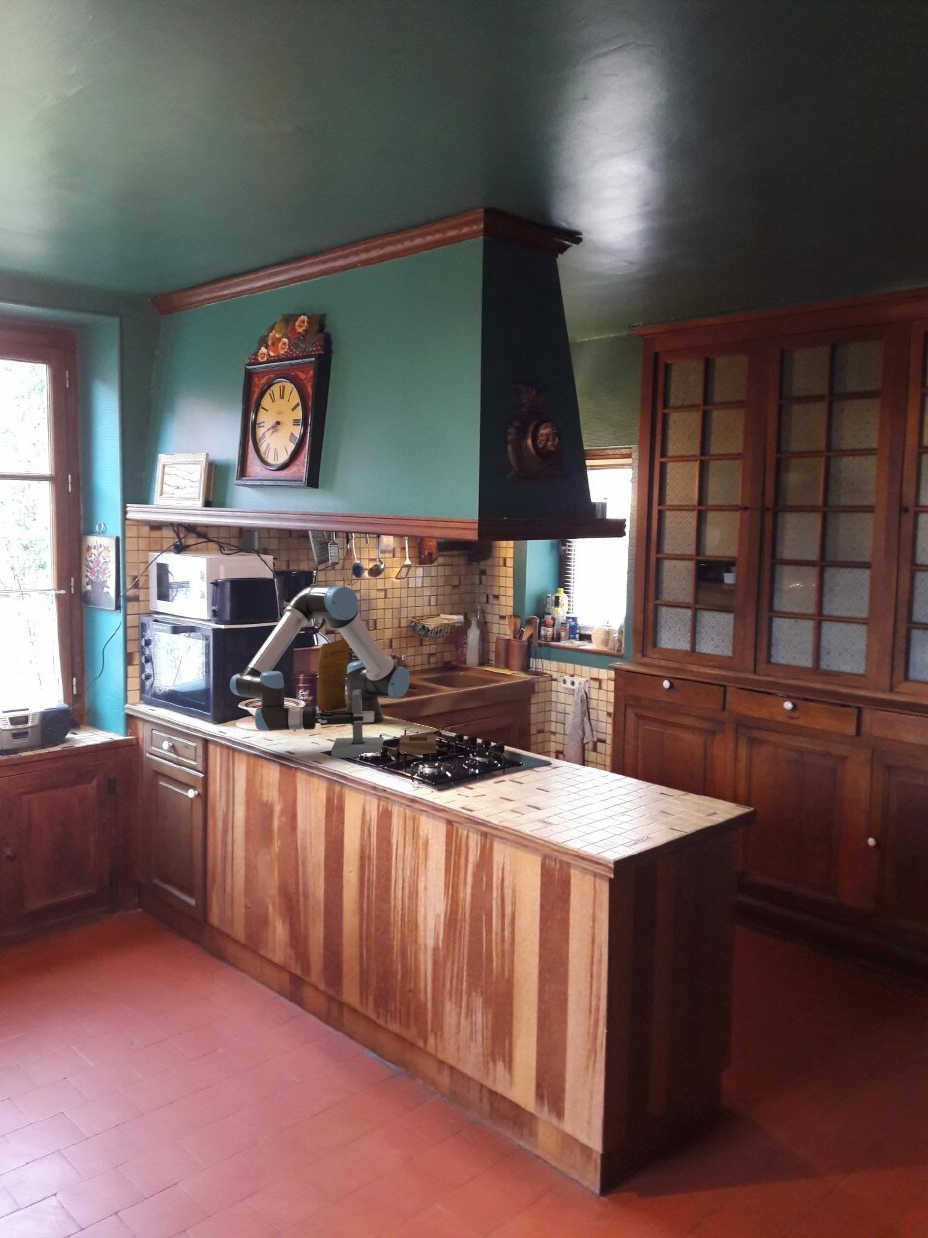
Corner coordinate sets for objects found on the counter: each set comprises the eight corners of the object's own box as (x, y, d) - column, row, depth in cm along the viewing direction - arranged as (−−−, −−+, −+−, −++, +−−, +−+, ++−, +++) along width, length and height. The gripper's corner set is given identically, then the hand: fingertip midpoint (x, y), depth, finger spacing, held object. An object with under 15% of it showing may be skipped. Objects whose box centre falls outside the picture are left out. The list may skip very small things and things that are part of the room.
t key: (354, 743, 337) (353, 689, 335) (363, 743, 337) (362, 689, 335) (352, 750, 327) (350, 695, 325) (361, 750, 327) (359, 694, 325)
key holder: (400, 746, 338) (400, 735, 338) (436, 746, 338) (436, 734, 338) (399, 755, 326) (399, 743, 326) (436, 754, 327) (436, 742, 326)
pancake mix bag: (356, 705, 415) (354, 638, 412) (322, 712, 400) (321, 643, 397) (344, 703, 419) (342, 637, 416) (311, 711, 404) (309, 642, 401)
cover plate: (336, 746, 340) (336, 738, 339) (383, 745, 340) (383, 737, 340) (331, 757, 324) (331, 748, 323) (381, 756, 324) (380, 747, 324)
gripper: (306, 724, 338) (375, 722, 339) (300, 734, 322) (372, 733, 323) (305, 702, 338) (374, 700, 338) (299, 712, 322) (372, 710, 322)
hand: (373, 716), depth 331 cm, fingers closed on t key, 3 cm apart
